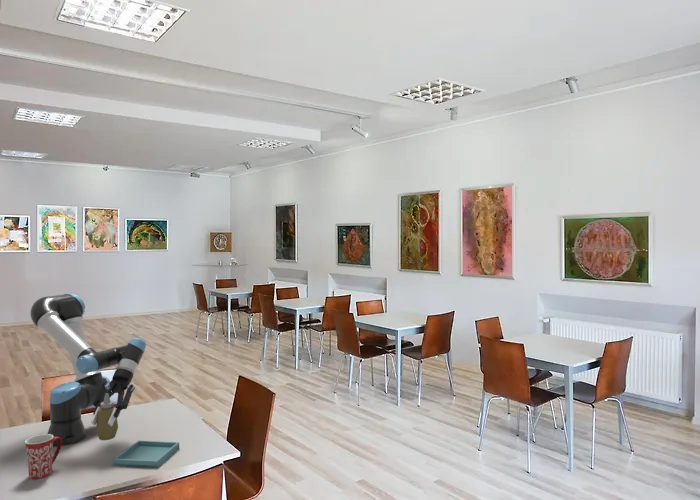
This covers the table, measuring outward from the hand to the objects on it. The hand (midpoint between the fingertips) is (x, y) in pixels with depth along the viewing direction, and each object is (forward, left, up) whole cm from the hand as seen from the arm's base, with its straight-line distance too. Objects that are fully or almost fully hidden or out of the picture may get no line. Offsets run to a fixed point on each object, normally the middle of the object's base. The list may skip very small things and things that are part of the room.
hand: (101, 424), depth 198 cm
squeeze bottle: (0, +4, -7) cm, 8 cm away
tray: (+17, +4, -14) cm, 22 cm away
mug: (-14, -13, -14) cm, 24 cm away
